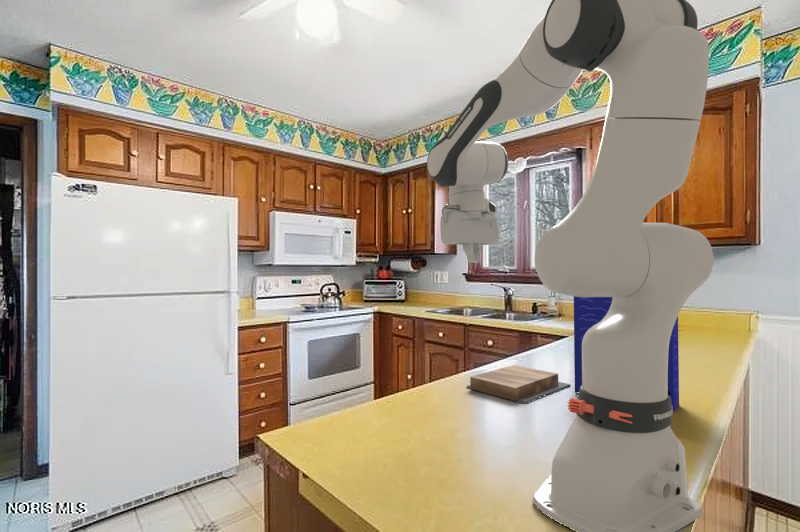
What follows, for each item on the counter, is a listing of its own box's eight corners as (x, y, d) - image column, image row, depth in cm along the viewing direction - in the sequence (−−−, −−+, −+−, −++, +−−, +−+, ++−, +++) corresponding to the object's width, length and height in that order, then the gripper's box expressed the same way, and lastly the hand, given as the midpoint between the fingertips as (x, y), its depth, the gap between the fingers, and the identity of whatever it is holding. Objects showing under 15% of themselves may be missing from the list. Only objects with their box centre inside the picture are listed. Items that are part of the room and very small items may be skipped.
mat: (525, 403, 99) (525, 401, 99) (466, 387, 113) (466, 385, 113) (570, 386, 113) (570, 384, 113) (513, 373, 127) (513, 372, 127)
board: (515, 387, 100) (558, 373, 113) (470, 376, 111) (513, 364, 124) (515, 400, 100) (558, 384, 113) (470, 388, 111) (514, 375, 124)
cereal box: (679, 405, 97) (677, 276, 97) (673, 412, 93) (671, 277, 93) (583, 387, 112) (582, 276, 112) (574, 392, 108) (573, 276, 108)
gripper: (452, 200, 93) (459, 261, 92) (500, 207, 108) (506, 260, 107) (431, 206, 98) (437, 265, 97) (479, 212, 112) (485, 263, 111)
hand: (474, 262), depth 102 cm, fingers closed
